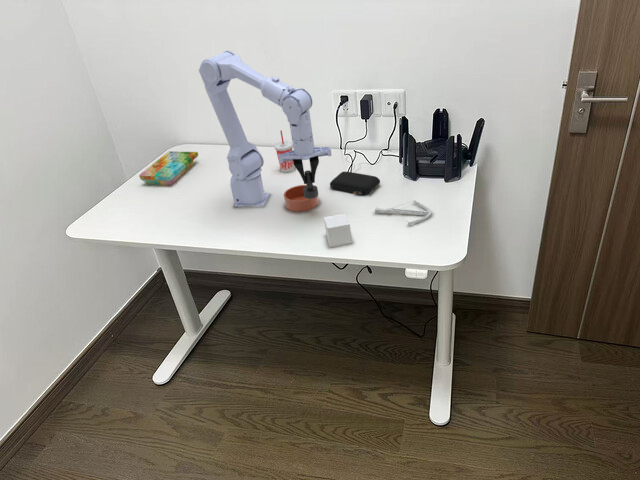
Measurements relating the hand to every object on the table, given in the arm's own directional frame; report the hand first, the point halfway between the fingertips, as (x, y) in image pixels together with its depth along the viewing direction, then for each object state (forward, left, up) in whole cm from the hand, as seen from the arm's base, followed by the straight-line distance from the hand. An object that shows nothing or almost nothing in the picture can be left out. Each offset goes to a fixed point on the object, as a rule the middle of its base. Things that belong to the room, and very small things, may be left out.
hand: (309, 181), depth 154 cm
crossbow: (+26, -1, -11) cm, 29 cm away
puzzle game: (-57, +30, -11) cm, 65 cm away
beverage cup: (-15, +31, -11) cm, 36 cm away
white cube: (+9, -14, -11) cm, 20 cm away
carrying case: (+10, +16, -11) cm, 22 cm away
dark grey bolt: (0, 0, -4) cm, 4 cm away
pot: (-5, +6, -11) cm, 13 cm away
